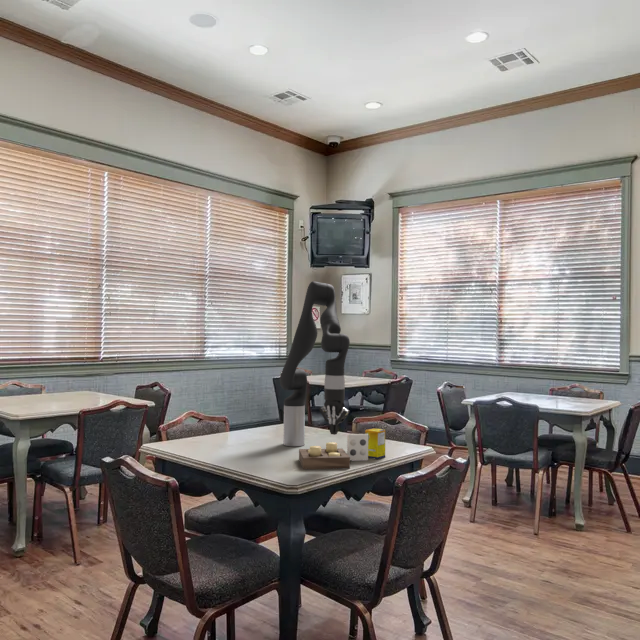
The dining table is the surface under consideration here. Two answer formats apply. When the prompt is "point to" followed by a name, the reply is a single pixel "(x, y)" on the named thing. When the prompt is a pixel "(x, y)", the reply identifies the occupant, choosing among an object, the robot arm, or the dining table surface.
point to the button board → (324, 460)
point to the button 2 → (315, 451)
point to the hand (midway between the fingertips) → (333, 434)
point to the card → (357, 446)
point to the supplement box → (376, 443)
